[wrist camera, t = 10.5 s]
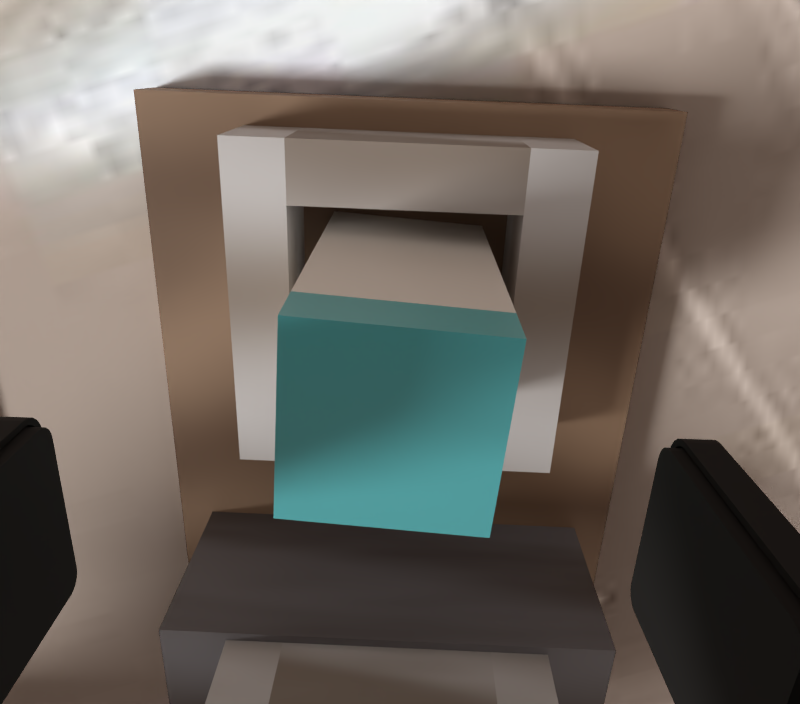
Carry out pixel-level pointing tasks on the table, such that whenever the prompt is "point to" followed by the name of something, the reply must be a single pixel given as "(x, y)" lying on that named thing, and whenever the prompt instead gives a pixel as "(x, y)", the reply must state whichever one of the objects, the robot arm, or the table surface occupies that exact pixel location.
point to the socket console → (532, 416)
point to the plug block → (396, 378)
